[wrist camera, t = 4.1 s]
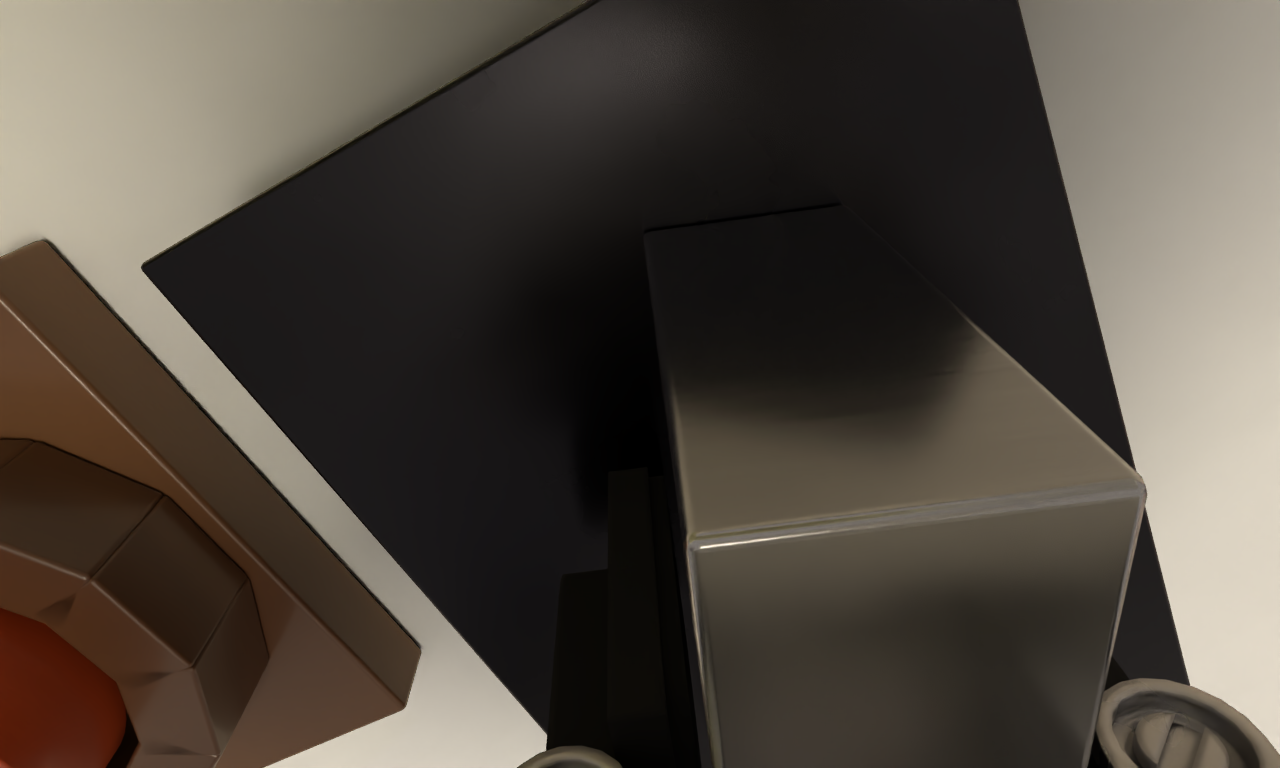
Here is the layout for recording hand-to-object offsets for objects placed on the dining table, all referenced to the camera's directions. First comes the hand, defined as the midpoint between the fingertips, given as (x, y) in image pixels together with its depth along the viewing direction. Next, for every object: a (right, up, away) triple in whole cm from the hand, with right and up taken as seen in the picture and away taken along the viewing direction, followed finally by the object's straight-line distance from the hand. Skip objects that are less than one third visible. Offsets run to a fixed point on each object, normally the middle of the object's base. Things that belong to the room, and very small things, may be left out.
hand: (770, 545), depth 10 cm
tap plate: (0, +2, +3) cm, 3 cm away
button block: (-12, -1, +4) cm, 13 cm away
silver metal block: (0, 0, 0) cm, 0 cm away
